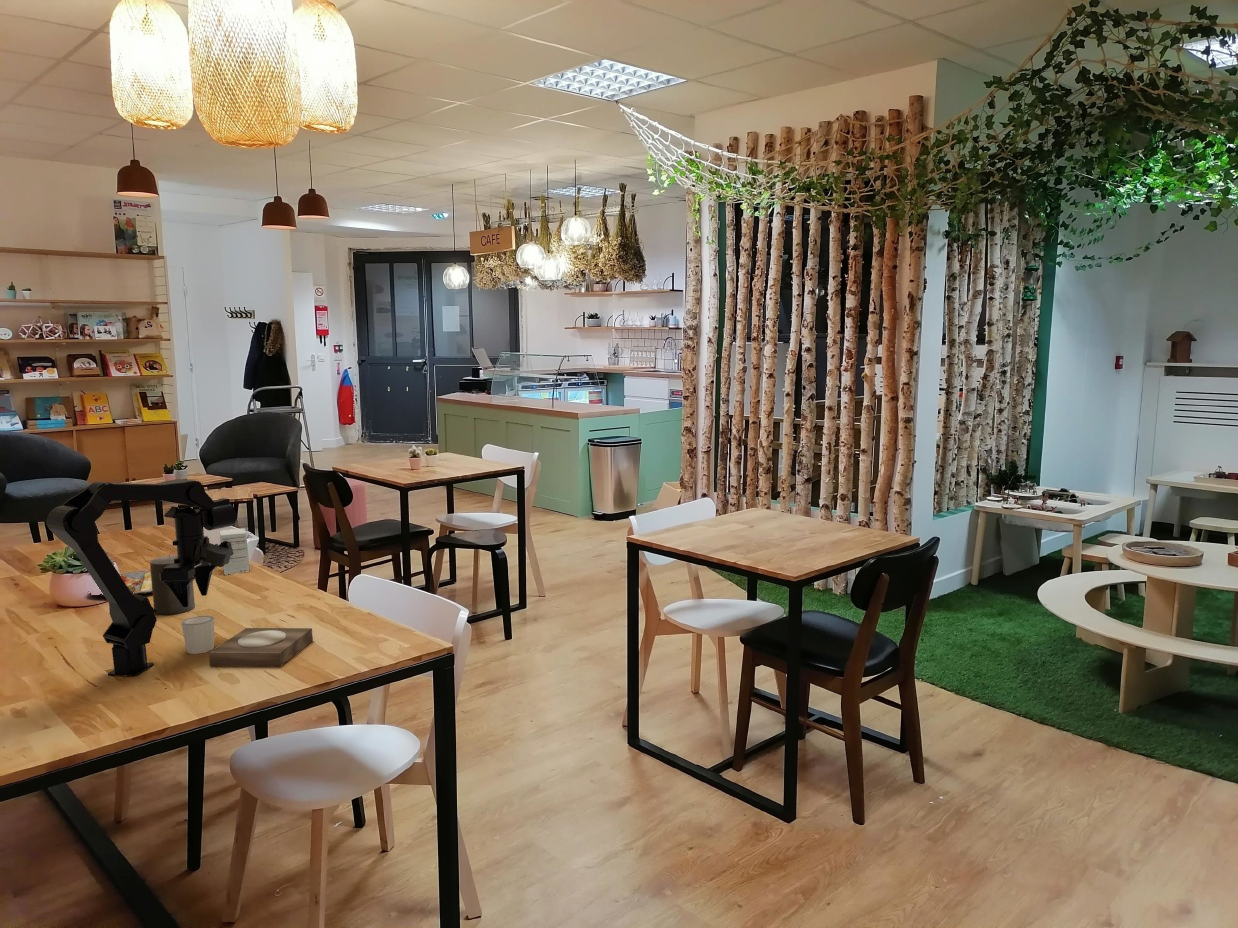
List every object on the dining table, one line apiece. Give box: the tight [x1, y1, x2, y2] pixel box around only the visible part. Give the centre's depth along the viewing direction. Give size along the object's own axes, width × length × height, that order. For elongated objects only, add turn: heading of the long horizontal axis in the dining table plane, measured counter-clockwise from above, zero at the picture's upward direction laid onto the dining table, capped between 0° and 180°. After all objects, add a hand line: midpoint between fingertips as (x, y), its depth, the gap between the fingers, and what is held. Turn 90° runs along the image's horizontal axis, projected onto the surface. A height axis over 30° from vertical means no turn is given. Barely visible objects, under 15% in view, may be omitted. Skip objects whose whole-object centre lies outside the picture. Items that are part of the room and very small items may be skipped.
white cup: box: [180, 615, 215, 655], centre depth 197 cm, size 7×7×7 cm
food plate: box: [121, 569, 152, 596], centre depth 249 cm, size 25×23×4 cm
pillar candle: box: [149, 554, 196, 616], centre depth 227 cm, size 10×10×15 cm
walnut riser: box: [208, 627, 314, 667], centre depth 194 cm, size 16×16×4 cm
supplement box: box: [219, 527, 250, 576], centre depth 264 cm, size 7×7×13 cm
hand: (195, 601), depth 197 cm, fingers open, 9 cm apart
